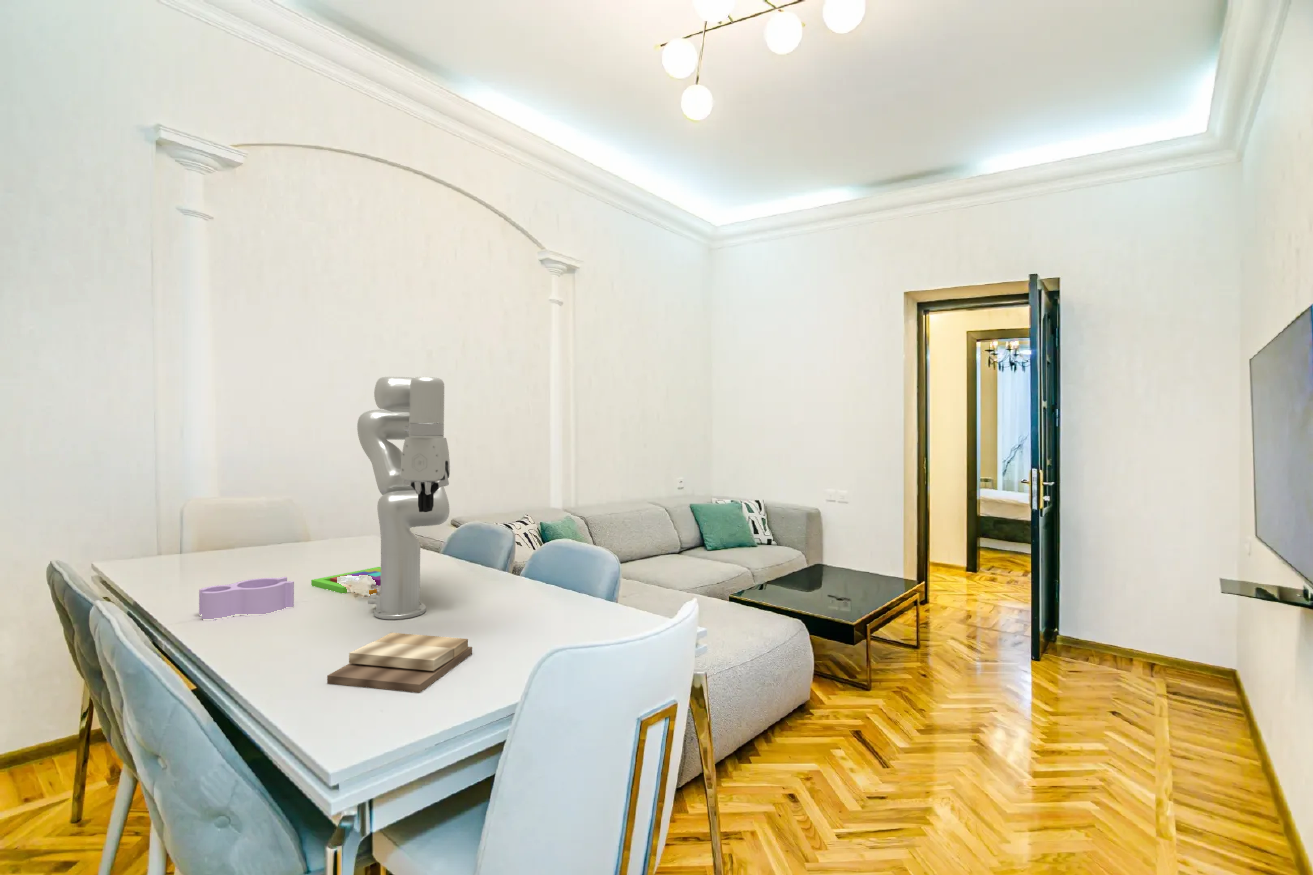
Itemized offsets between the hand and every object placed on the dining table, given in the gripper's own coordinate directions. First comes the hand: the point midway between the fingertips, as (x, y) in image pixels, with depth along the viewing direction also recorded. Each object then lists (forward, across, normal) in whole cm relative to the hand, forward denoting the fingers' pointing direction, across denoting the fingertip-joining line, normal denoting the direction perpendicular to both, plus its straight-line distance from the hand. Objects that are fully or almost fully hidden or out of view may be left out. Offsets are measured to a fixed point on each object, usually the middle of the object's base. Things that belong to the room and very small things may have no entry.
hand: (425, 511), depth 151 cm
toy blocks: (+30, -41, +41) cm, 65 cm away
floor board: (+29, +6, -18) cm, 35 cm away
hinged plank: (+27, +6, -19) cm, 34 cm away
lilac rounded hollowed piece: (+30, -54, +8) cm, 62 cm away
